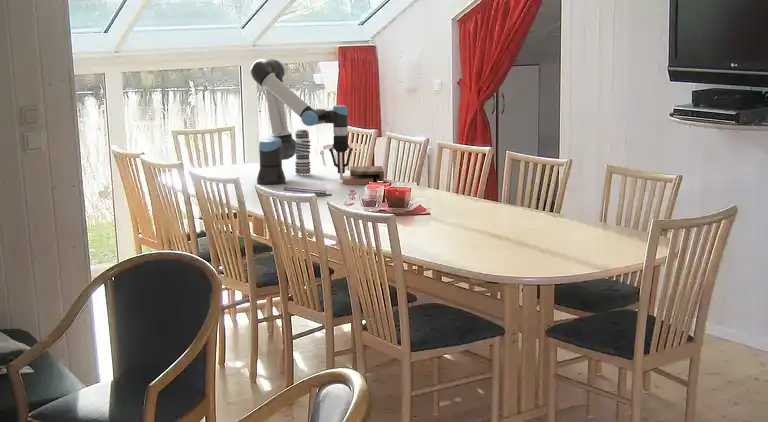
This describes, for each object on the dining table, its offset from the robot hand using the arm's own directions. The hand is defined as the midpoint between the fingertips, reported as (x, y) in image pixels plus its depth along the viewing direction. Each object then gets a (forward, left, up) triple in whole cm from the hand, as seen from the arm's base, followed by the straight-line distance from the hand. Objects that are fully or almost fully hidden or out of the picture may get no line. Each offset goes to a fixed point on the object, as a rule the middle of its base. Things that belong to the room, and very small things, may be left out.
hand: (341, 179), depth 505 cm
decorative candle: (-21, +32, -2) cm, 38 cm away
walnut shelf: (+13, 0, -2) cm, 14 cm away
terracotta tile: (+9, 0, -2) cm, 9 cm away
